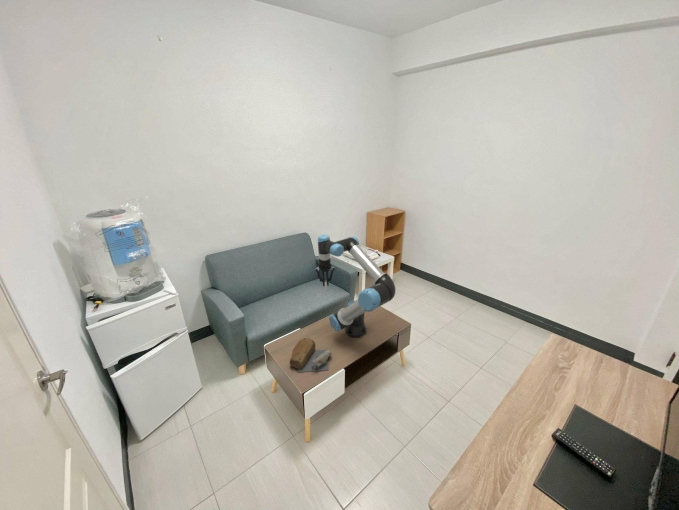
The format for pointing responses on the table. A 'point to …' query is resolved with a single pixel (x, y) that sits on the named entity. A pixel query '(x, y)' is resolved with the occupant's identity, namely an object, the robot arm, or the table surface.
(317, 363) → the decorative bird
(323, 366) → the mat
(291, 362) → the block
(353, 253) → the robot arm
